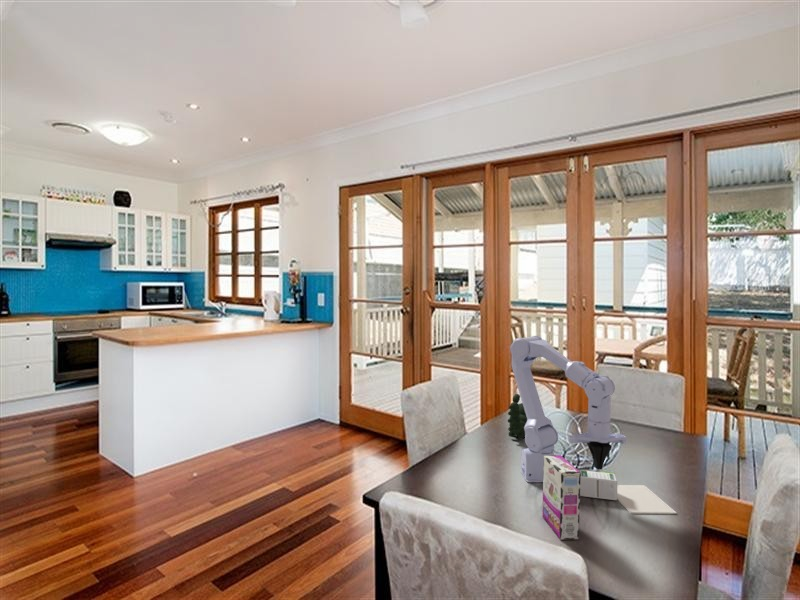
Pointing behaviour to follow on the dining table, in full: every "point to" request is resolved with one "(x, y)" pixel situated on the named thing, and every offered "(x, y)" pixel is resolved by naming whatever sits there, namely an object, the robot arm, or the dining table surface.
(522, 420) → the dark green lumpy piece
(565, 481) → the candy bar box
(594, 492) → the syrup box
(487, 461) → the dining table surface
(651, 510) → the cream white mat
